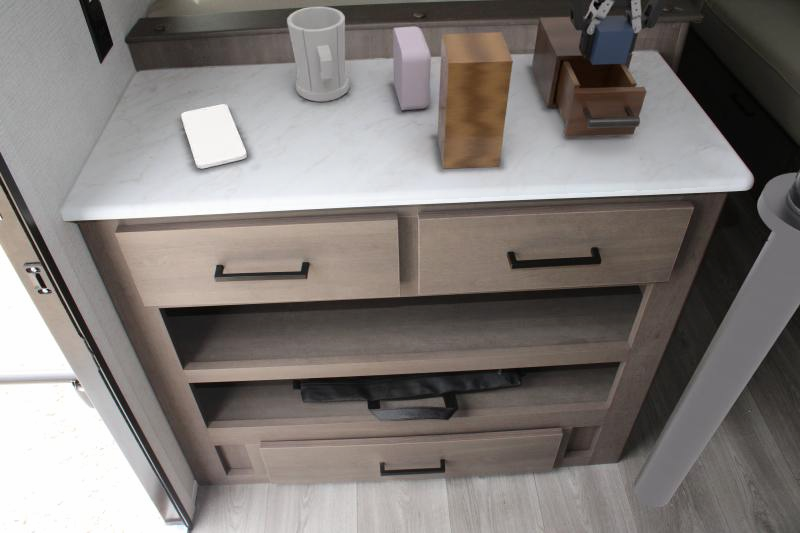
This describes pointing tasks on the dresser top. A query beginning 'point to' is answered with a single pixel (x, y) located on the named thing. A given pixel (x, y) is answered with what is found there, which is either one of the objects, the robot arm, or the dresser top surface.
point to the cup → (319, 52)
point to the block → (612, 41)
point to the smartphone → (213, 136)
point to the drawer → (598, 98)
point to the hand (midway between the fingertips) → (604, 55)
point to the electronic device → (411, 68)
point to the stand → (473, 99)
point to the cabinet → (555, 53)
